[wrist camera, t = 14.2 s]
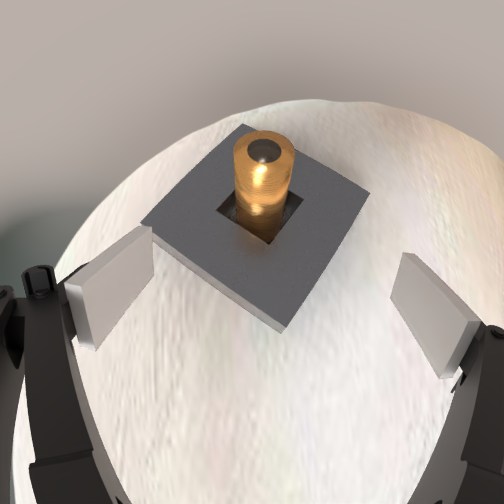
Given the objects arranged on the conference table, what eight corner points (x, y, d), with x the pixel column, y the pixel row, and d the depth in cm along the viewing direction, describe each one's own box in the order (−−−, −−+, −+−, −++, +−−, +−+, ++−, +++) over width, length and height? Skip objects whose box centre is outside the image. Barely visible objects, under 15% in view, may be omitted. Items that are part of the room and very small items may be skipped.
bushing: (253, 198, 35) (256, 123, 25) (288, 219, 34) (305, 146, 23) (228, 228, 34) (220, 155, 23) (264, 251, 33) (273, 183, 22)
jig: (242, 144, 39) (242, 123, 35) (359, 210, 35) (370, 193, 31) (150, 239, 33) (140, 222, 29) (281, 333, 29) (286, 327, 25)
